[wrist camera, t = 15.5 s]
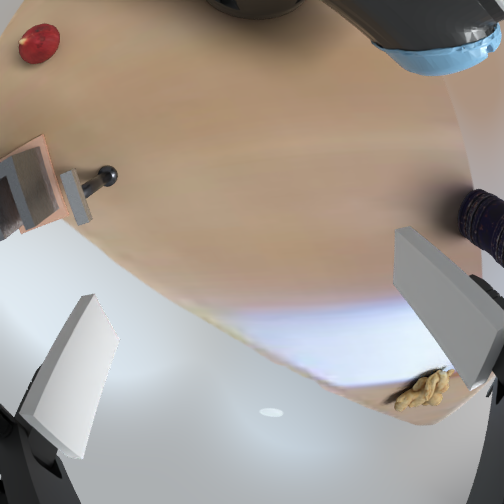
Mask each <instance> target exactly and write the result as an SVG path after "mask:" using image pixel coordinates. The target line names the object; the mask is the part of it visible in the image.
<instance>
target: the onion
mask: <svg viewBox="0 0 504 504" xmlns="http://www.w3.org/2000/svg"><path fill="white" fill-rule="evenodd" d="M59 42H60V34H59V32H58V30H57V28H56V27H54V26H53V25H49V24H45V23H44V24H40V25H36V26H34V27H32V28H31V29H29V30H28V31H26V33H25V34H24V35H23V36H22V38H21V39H20V40H19V42H18V43H19V53H20V55H21V57H22V59H23V60H24V61H26V62H28V63H30V64H39V63H42V62H44V61H46V60H48V59H49V58H50V57H51V56H52V55H53V54H54V53H55V52H56V50H57V48H58V45H59Z"/></svg>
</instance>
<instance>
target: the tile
mask: <svg viewBox="0 0 504 504" xmlns="http://www.w3.org/2000/svg"><path fill="white" fill-rule="evenodd" d="M39 146H40V150H41V153H42V157H43V160H44V164H45V167H46V170H47V174H48V177H49V180H50V183H51V186H52V189H53V192H54V195H55V198H56V201H57V204H58V206H59V209H58V210H57V211H55V212H54V213H53V214H51V215H50V216H49V217H47V218H46V219H45V220H43V221H42V222H41V223H40V224H38V225H37V226H36V227H34V228H31V229H28V230H25V227H24V225H22V226H21V227H20V228H19V230H20V233H21V234H23V233H25V232H27V231H30V230H32V229H35V228H38V227H40V226H42V225H45V224H48V223H50V222H53V221H56V220H59V219H61V218H64V217H67V216H69V212H68V210H67V207H66V204H65V202H64V199H63V196H62V193H61V190H60V187H59V184H58V181H57V178H56V175H55V172H54V168H53V165H52V162H51V158H50V155H49V152H48V148H47V144H46V141H45V137H44V134H42V135H40V136H38V137H37V138H35V139H33V140H31V141H29V142H28V143H26V144H24V145H23V146H21V147H19V148H17V149H16V150H14V151H13V152H11V153H9V154H8V155H6V156H5V157H3V158H1V159H0V162H2V161H4V160H5V159H7V158H8V157H10V156H12V155H15V154H18V153H20V152H23V151H26V150H29V149H32V148H35V147H39Z"/></svg>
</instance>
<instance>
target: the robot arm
mask: <svg viewBox="0 0 504 504" xmlns="http://www.w3.org/2000/svg"><path fill="white" fill-rule="evenodd" d="M206 1H207V2H208V3H209V4H211V5H212V6H213V7H215V8H216V9H218V10H220V11H222V12H224V13H226V14H229V15H232V16H235V17H239V18H245V19H269V18H275V17H279V16H282V15H285V14H287V13H289V12H291V11H293V10H295V9H296V8H298V7H299V6H300V5H301V4H302V3H303V2H304V1H305V0H206ZM321 1H322V2H324V3H325V4H327V5H328V6H329V7H331V8H332V9H333V10H335V11H336V12H337V13H339V14H340V15H341V16H342V17H344V18H345V19H346V20H348V21H349V22H350V23H351V24H352V25H354V26H355V27H356V28H357V29H359V30H360V31H361V32H362V33H363V34H364V35H366V36H367V37H368V38H369V39H370V40H371V42H372V44H373V45H374V46H376V47H377V48H378V49H380V50H382V51H384V52H386V53H387V54H388V55H389V56H390V57H391V58H392V59H394V60H395V61H396V62H397V63H398V64H399V65H400V66H401V67H403V68H404V69H406V70H407V71H409V72H413V73H417V74H419V75H424V76H440V75H447V74H452V73H455V72H458V71H462V70H465V69H468V68H470V67H472V66H474V65H476V64H478V63H480V62H481V61H483V60H484V59H486V58H487V57H488V54H487V53H489V52H494V51H495V50H496V49H497V47H498V46H499V44H500V42H501V31H500V26H499V23H498V22H499V21H501V20H504V0H321ZM393 284H394V286H395V287H396V288H397V289H398V291H399V292H400V293H401V295H402V296H403V297H404V298H405V300H406V301H407V302H408V304H409V305H410V306H411V308H412V309H413V310H414V311H415V313H416V314H417V315H418V317H419V318H420V319H421V321H422V322H423V324H424V325H425V326H426V328H427V329H428V330H429V332H430V333H431V334H432V336H433V337H434V339H435V340H436V341H437V343H438V344H439V346H440V347H441V349H442V350H443V351H444V353H445V354H446V356H447V357H448V359H449V360H450V362H451V363H452V365H453V366H454V368H455V369H456V371H457V372H458V374H459V375H460V377H461V378H462V380H463V381H464V383H465V384H466V386H467V388H468V389H469V391H471V390H473V389H475V388H476V387H478V386H480V385H482V384H484V383H485V382H486V381H487V379H488V377H489V375H490V374H491V372H492V371H493V372H494V374H495V375H496V378H495V380H494V382H493V384H492V385H491V387H490V389H489V390H488V392H487V395H486V397H489V396H490V394H491V392H492V391H493V394H492V401H491V409H490V415H489V421H488V426H487V431H486V436H485V441H484V446H483V450H482V454H481V458H480V462H479V466H478V469H477V473H476V476H475V479H474V483H473V486H472V489H471V492H470V495H469V498H468V501H467V503H466V504H504V298H503V297H502V296H501V297H500V295H499V293H497V291H496V290H493V288H492V287H491V286H490V285H489V284H488V283H487V282H486V281H485V280H483V279H481V278H479V277H477V276H475V275H473V274H472V275H470V276H468V275H467V274H466V273H465V272H464V271H463V270H461V269H460V268H459V267H458V266H457V265H456V264H455V263H454V262H452V261H451V260H450V259H449V258H448V257H447V256H446V255H444V254H443V253H442V252H441V251H440V250H439V249H437V248H436V247H435V246H434V245H433V244H431V243H430V242H429V241H428V240H427V239H425V238H424V237H423V236H422V235H420V234H419V233H418V232H417V231H415V230H414V229H413V228H412V227H410V226H408V227H404V228H399V229H395V254H394V275H393ZM119 341H120V339H119V337H118V335H117V333H116V332H115V330H114V328H113V327H112V325H111V323H110V322H109V319H108V318H107V316H106V314H105V312H104V310H103V308H102V307H101V305H100V303H99V301H98V299H97V297H96V295H95V294H91V295H85V296H82V297H81V298H80V300H79V301H78V303H77V305H76V306H75V308H74V310H73V311H72V313H71V314H70V316H69V318H68V320H67V321H66V323H65V324H64V326H63V328H62V330H61V331H60V333H59V335H58V337H57V338H56V340H55V342H54V344H53V346H52V347H51V349H50V351H49V353H48V355H47V357H46V359H45V360H44V362H43V364H42V365H41V366H40V367H39V368H38V369H37V371H36V372H35V374H34V376H33V378H32V382H30V384H29V386H28V390H26V393H25V395H24V397H23V399H22V401H21V403H20V405H19V408H18V410H17V412H16V414H15V417H13V416H12V415H11V414H10V413H9V412H8V411H7V410H6V409H5V408H4V407H3V406H2V405H1V404H0V474H1V480H0V504H81V502H80V500H79V498H78V496H77V494H76V492H75V490H74V488H73V486H72V484H71V481H70V479H69V477H68V475H67V473H66V470H65V468H64V466H63V463H62V461H61V460H60V458H59V457H58V456H57V455H56V453H57V450H58V449H59V450H60V451H61V452H62V453H63V454H65V455H66V456H67V457H72V458H77V459H83V457H84V453H85V449H86V445H87V441H88V438H89V433H90V430H91V426H92V423H93V420H94V416H95V413H96V409H97V406H98V403H99V400H100V397H101V394H102V390H103V387H104V384H105V381H106V378H107V375H108V372H109V369H110V366H111V364H112V361H113V358H114V355H115V352H116V349H117V346H118V344H119Z"/></svg>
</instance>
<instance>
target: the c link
mask: <svg viewBox="0 0 504 504" xmlns="http://www.w3.org/2000/svg"><path fill="white" fill-rule="evenodd" d="M58 209H59V206H58V204H57V201H56V198H55V195H54V192H53V189H52V186H51V183H50V180H49V177H48V174H47V170H46V167H45V164H44V160H43V157H42V153H41V150H40V146H39V147H35V148H32V149H29V150H26V151H23V152H20V153H18V154H15V155H12V156H10V157H8V158H7V159H5V160H4V161H2V162H0V241H2V240H4V239H6V238H7V237H8V236H10V235H11V234H12V233H13V232H14V231H16V230H17V229H19V228H20V227H21V226H22V225H24V227H25V230H28V229H31V228H34V227H36V226H37V225H38V224H40V223H41V222H42V221H43V220H45V219H46V218H47V217H49V216H50V215H51V214H53V213H54V212H55V211H57V210H58Z"/></svg>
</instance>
